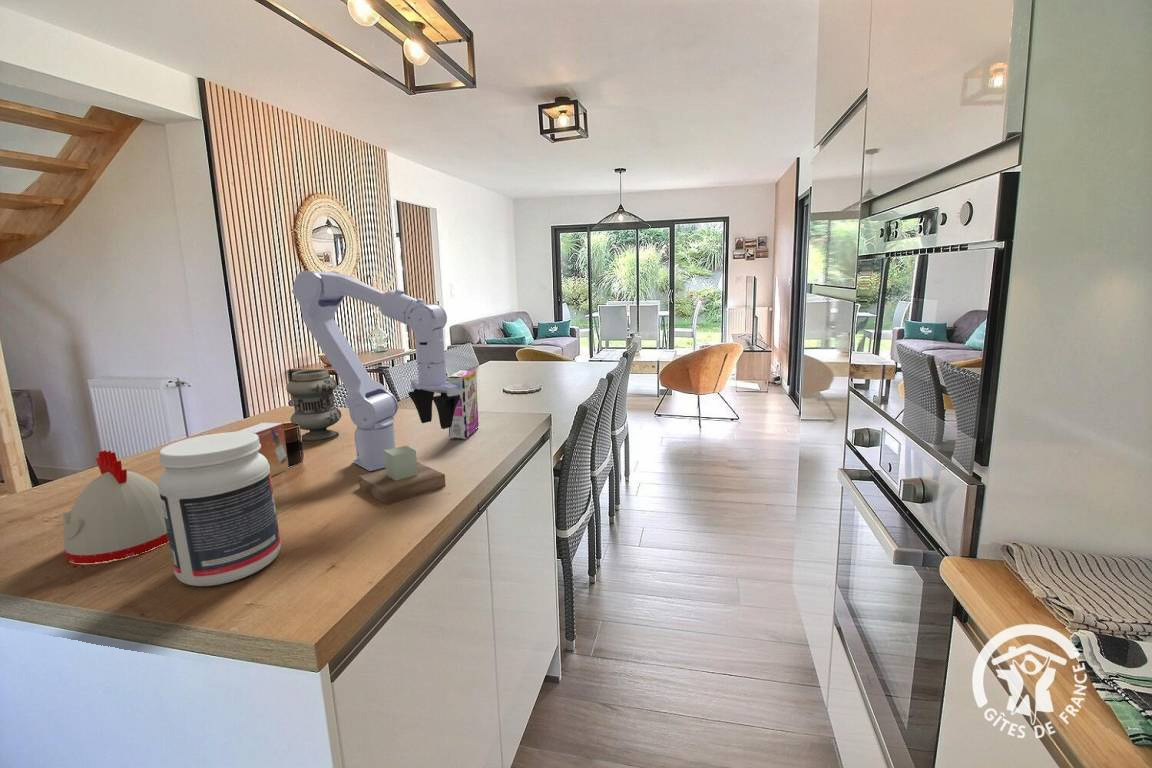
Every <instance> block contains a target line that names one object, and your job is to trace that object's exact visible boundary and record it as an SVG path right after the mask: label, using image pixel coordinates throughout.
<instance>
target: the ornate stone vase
mask: <svg viewBox="0 0 1152 768" xmlns="http://www.w3.org/2000/svg"><path fill="white" fill-rule="evenodd" d="M337 386H338V384H337V381H336V379H335V378H333V377H332V376H331V375H330V373H329V370H328V369H327V368H312V369H304V370H299V371H294V372H292V373H291V380H290V381H289V382H288V383H287V385H286V392H287V393H288V394H290V396H292V399H293V401H292V402H293V407H294V413H293V414H291V417H290V423H291V424H292V423H297V424H298V425H299V426H300V429H299V430H304V431H308V432H305V433H303V434H302V435H301V436H300V437H302V444H316V443H323V442H327V441H328V442H329V441H330V440H334V439H337V438H338V437H339V436H340V433H339V432H338V431H336V430H333V429H328V428H329V427H331V426H334V425H335V424H337V423H338V422H339V421H340V419H341V418H342V411H341V410H340V409H339V408H338V407H336V405H335V399H334V391H335V390H336V388H337Z"/></svg>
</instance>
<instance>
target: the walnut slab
mask: <svg viewBox="0 0 1152 768" xmlns="http://www.w3.org/2000/svg"><path fill="white" fill-rule="evenodd" d="M417 471H418V475H416V476H412V477H408V478H404V479H401V480H397V481H395V480H393V479H392V478H390V477H389V476H387V475H386V468H382V469H379V470H375V471H371V472H370V473H366V474H365V473H364V474H362V475H359V476H358V480H359V481H358V482H359V488H360V489H361V490H362V491H364V492H366V493H367V494H369V495H371V496H373V497H374V498H375V499H377V500H379V501H380V502H381V503H384V504H385V505H386V506H387V505H391V504H394V503H397V502H400V501H404V500H406V499H409V498H413V497H416V496H419V495H422V494H425V493H428V492H432V491H434V490H437V489H438V490H439V489H441V488H443V487H446V475H445V474H444V473H442V472H440V471H439V470H436V469H434V468H431V467H430V466H427V465H425V464H423V463H420V462H419V461H417Z"/></svg>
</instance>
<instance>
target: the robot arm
mask: <svg viewBox="0 0 1152 768" xmlns="http://www.w3.org/2000/svg"><path fill="white" fill-rule="evenodd" d="M291 293H292V294H293V296H294V297H295V299H296V300H297V302H298V304H299V308H300V312H301V315H302V320H303V322H304V324H305V326H306V327H307V329H308V331H309V332H310V334H311V335H312V337H313V339H314V340H315V341H316V343H317V345H318V347H319V348H320V349H321V351H322V353H323V354H324V355H325V357H326V358H327V360H328V362H329V364H330V365H331V366H332V369H334V372H335V373H336V374H337V376H338V378H339V379H340V381H341V382H342V385H343V386H344V387H345V389H346V390H347V395H346V397H345V401H344V403H345V405H346V406H347V408H348V412H349V418H350V419H351V421H352V423H353V424H354V425H355V426H356V428H355V431H354V436H353V437H354V443H355V444H354V446H355V453H356V454H355V455H356V459H352V462H353V464H356V465H358V466H359V467H361V468H363V469H365V470H366V471H367V472H375V471H379V470H382V469H386V466H385V455H384V450H388V449H393V448H397V447H396V437H395V427H394V422H395V417H394V416H396V414H397V412H398V410H399V403H398V399H397V398H396V396H395V395H394V394H393V393H391V392H389V391H388V390H387V388H386V387H385V386H384V384H382V383H380V382H379V381H377V380H374V379H373V378H372V377H371V375H370V374H369V373H368V371H367V369H366V368H365V366H364V365H363V363H362V361H361V360H360V358H359V356H358V355H357V353H356V352H355V350H354V348H353V347H352V345H351V344H350V343H349V341H348V339H347V338H346V336H345V335H344V333H343V331H342V330H341V328H340V326H339V325H338V323H337V322H336V321H335V319H334V318H335V314H336V313H337V310H338V308H340V306H341V304H342V302H343V300H344V299H345V297H346V296H347V297H350V298H353V299H356V300H358V301H361V302H364V303H366V304H369V305H373V306H375V307H378V308H379V311H380V314H382V315H383V316H384V317H387V318H390V319H391V320H394V321H397V322H399V323H402V324H404V325H406V326H409V328H410V329H411V331H412V333H413V335H414V336H413V337H414V340H415V342H414V343H415V351H416V353H415V354H416V364H417V365H416V366H417V377H418V378H415V379H410V388H411V390H413V391H408V393H407V394H408V396H409V398H410V400H411V401H412V403H413V404H414V407H415V409H416V411H417V413H418V414H417V415H418V417H419V419H420V422H421V423H422V424H425V423H430V422H432V418H433V403H434V405H435V407H436V409H437V415H438V420H439V425H440V429H442V430H445V429H449V428H450V427H451V426H452V421H453V416H454V411H455V408H456V405H457V403H458V401H459V399H460V394H458V393H457V386H455V385H452V384H451V383H449V382H447V378H446V377H447V368H446V352H445V340H444V328H445V327H446V324H447V321H448V315H447V313H446V311H445V309H444V308H443V307H442V306H441V305H439V304H438V303H436V302H431V303H428V304H426V303H425V300H424V298H423V299H422V298H421V297H420V298H415V297H413V296H410V295H407V294H405V290H403V289H400V288H398V289H397V288H395V289H390V290H387V291H382V290H380V289H378V288H376V287H373V286H371V285H370V284H367V283H365V282H363V281H360V280H358V279H356V278H354V277H352V276H351V275H349V274H345V273H340V272H338V271H336V270H335V271H334V270H332V271H313V270H302V271H300V272H299V273H298V274H297V275H296V276H295V277H294V282H293V287H292V291H291ZM435 393H436V394H440V395H435ZM434 395H435V396H434Z"/></svg>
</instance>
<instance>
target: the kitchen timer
mask: <svg viewBox="0 0 1152 768" xmlns="http://www.w3.org/2000/svg"><path fill="white" fill-rule="evenodd" d="M97 453H98V457H95V459H96V460H95V461H96V464H97V466H98V469H99V471H100V475H99V476H98V477H97V476H96V478H94V479H92V481H91V482H89V483H88V484H87V485H86V486H85V487H84V488H83V490H81V492H80V494H79V495H78V497H77V498H76V500H75V502H74V503H73V506H72V507H71V508H70V512H63V513H62V536H63V548H64V549H63V550H64V554H65V558H67V559H68V560H67V559H66V560H67V562H68V561H71V562H74V563H95V562H103V561H109V560H113V559H121V558H125V557H128V556H132V555H136V554H140V553H142V552H145V551H148V550H150V549H152V548H154V547H157V546H159V545H161V544H164V543H167V542H168V541H169V540H168V534H167V529H166V524H165V519H164V513H163V508H162V503H161V498H160V492H159V490H158V484H156V483H154V482H153V481H152V480H151V479H149V478H148V477H146V476H144V475H142V474H139V473H137V472H133V471H129V470H127V469H123V467H122V460H118V459H117V455H116V452H115V451H114V452H113V451H111V450H106V449H105V450H101V451H98V452H97ZM167 544H168V543H167Z"/></svg>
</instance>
